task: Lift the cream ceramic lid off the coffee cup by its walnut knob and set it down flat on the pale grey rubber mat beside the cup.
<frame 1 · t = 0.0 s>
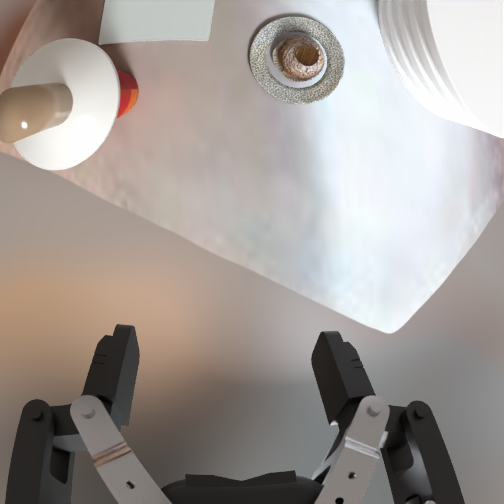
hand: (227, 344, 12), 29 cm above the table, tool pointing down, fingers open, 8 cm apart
coffee cup: (117, 94, 31), on the table, touching cup lid
cup lid: (60, 103, 18), point 15 cm above the table, touching coffee cup
plate stack: (450, 39, 29), on the table
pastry: (296, 59, 31), on the table
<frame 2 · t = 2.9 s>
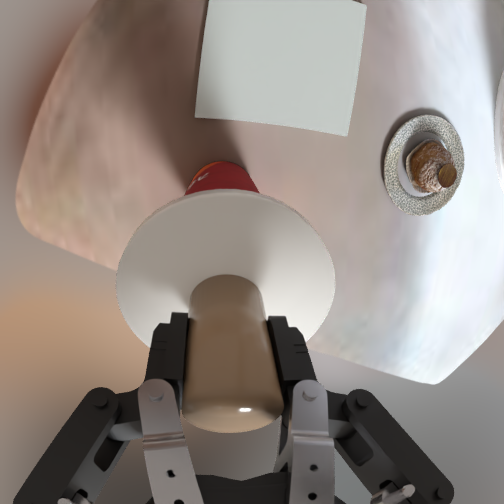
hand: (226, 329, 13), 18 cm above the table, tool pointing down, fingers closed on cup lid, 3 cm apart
rubber mat: (283, 51, 22), on the table
coffee cup: (221, 190, 28), on the table, touching cup lid
cup lid: (225, 291, 15), point 15 cm above the table, touching coffee cup, gripper
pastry: (421, 163, 29), on the table
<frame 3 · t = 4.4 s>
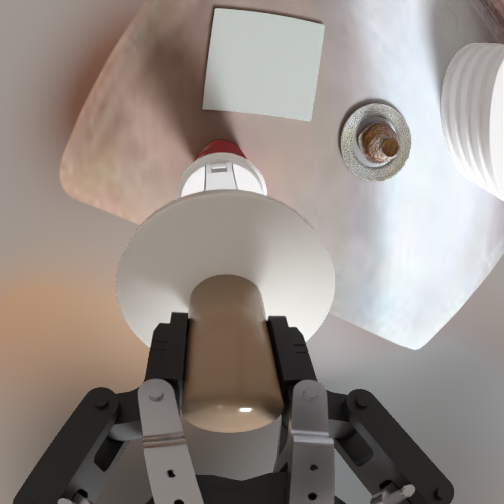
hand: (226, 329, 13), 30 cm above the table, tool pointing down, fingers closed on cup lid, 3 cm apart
rubber mat: (264, 62, 32), on the table
coffee cup: (220, 161, 39), on the table
cup lid: (225, 291, 15), point 27 cm above the table, touching gripper
plate stack: (489, 114, 37), on the table
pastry: (374, 141, 39), on the table
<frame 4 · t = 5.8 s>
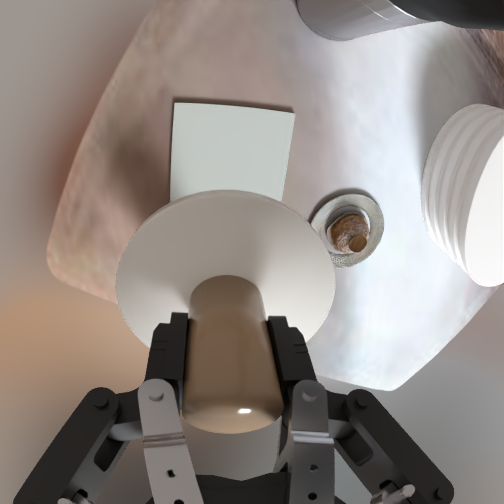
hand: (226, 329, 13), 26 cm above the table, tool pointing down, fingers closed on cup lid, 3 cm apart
rubber mat: (229, 162, 35), on the table
cup lid: (225, 292, 15), point 24 cm above the table, touching gripper
plate stack: (477, 181, 40), on the table
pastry: (344, 229, 43), on the table
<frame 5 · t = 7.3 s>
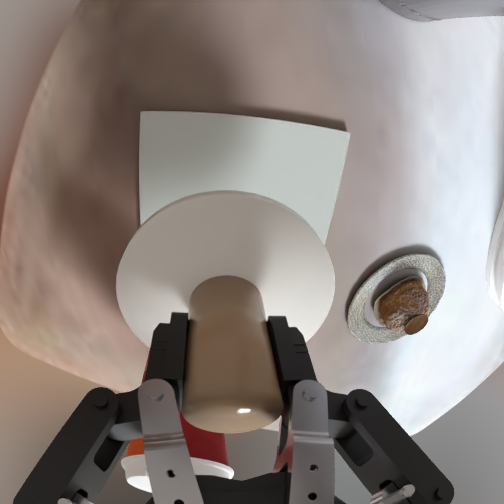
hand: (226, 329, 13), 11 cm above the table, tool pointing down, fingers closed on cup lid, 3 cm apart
rubber mat: (237, 212, 22), on the table
coffee cup: (183, 340, 28), on the table
cup lid: (225, 292, 15), point 8 cm above the table, touching gripper
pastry: (394, 295, 29), on the table
when the fingers open (5 cm above the table, at t = 8.8 s): cup lid drops 2 cm, resting on rubber mat.
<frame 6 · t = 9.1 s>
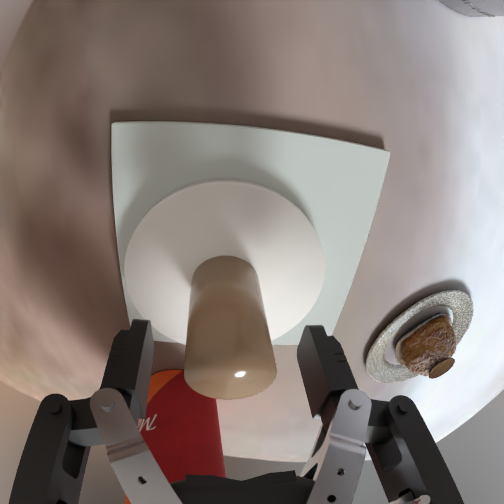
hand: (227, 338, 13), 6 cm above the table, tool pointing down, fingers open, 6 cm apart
rubber mat: (242, 253, 17), on the table
coffee cup: (180, 387, 24), on the table
cup lid: (224, 273, 17), point 1 cm above the table, touching rubber mat
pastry: (417, 333, 24), on the table
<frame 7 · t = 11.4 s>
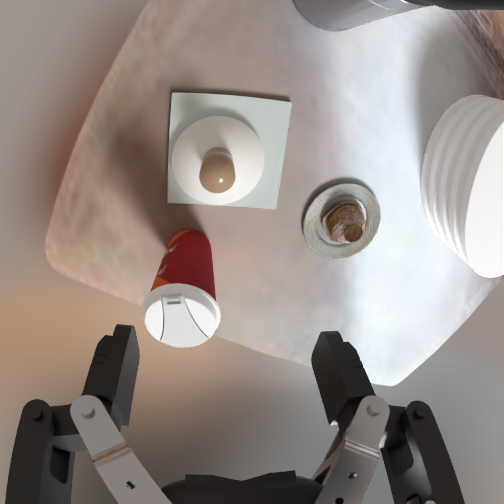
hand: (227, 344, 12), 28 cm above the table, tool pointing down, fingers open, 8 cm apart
rubber mat: (226, 151, 35), on the table
coffee cup: (190, 248, 42), on the table
cup lid: (217, 159, 35), point 1 cm above the table, touching rubber mat
plate stack: (477, 172, 39), on the table
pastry: (340, 219, 42), on the table
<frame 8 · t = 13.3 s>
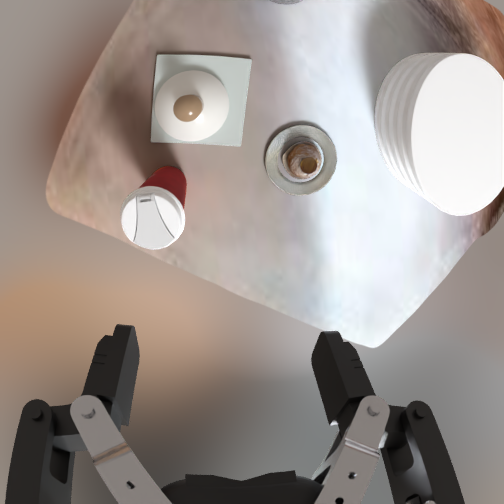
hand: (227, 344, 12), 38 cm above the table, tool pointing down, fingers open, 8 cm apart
rubber mat: (199, 99, 40), on the table
coffee cup: (168, 183, 47), on the table
cup lid: (192, 105, 40), point 1 cm above the table, touching rubber mat
plate stack: (434, 123, 45), on the table
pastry: (300, 159, 47), on the table
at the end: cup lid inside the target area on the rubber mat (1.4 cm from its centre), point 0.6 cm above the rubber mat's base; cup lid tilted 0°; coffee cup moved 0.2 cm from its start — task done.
